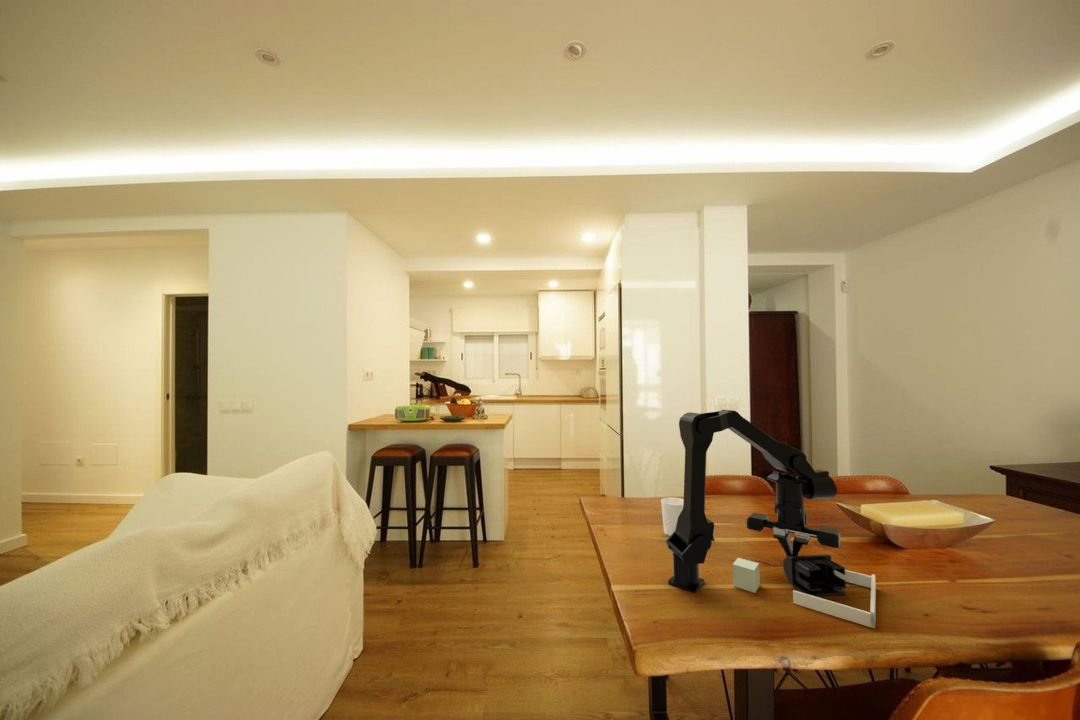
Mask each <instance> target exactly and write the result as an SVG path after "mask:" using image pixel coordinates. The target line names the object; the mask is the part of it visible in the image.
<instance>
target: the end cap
mask: <svg viewBox="0 0 1080 720" xmlns="http://www.w3.org/2000/svg"><path fill="white" fill-rule="evenodd" d="M782 568H783V571H784V575H785V577H786V578H787V580H788V582H789V583H790V584H791V585H792V586H793V587H794V588H795V589H796V590H797V591H798V592H802V593H805V594H809V595H812V596H815V597H819V598H820V597H830V596H843V595H845V594H846V593H845V592H846V591H845V589H846V587H847V584H846V583H847V582H846V581H845V580H844V579H842V578H840V577H838V576H837V575H835V573H834V570H836V571H838V572H840V573H841V574H843V575H845V570H846V568H845V567H844V566H843V565H841V564H840V563H837V562H835V561H833V560H832V555H830V554H828V553H827V554H826V553H825V554H808V555H807V554H806V555H798V556H789V557H787V556H786V557H784V559H783V563H782Z"/></svg>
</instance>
